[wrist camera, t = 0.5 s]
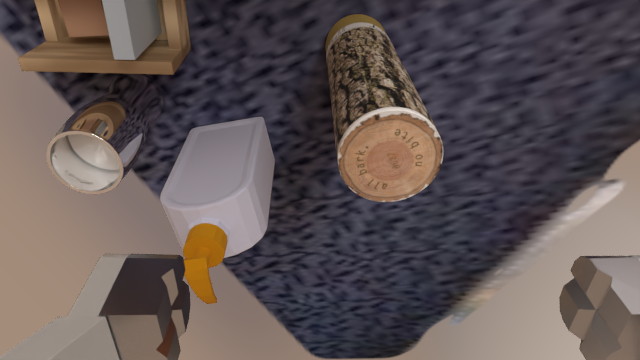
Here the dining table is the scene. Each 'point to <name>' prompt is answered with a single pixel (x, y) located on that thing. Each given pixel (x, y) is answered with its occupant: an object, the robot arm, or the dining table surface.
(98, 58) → the tray
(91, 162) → the beer glass
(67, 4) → the offcut
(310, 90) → the dining table surface
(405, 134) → the brown bark cylinder
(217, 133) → the soap bottle
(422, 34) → the dining table surface
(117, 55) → the grey block
